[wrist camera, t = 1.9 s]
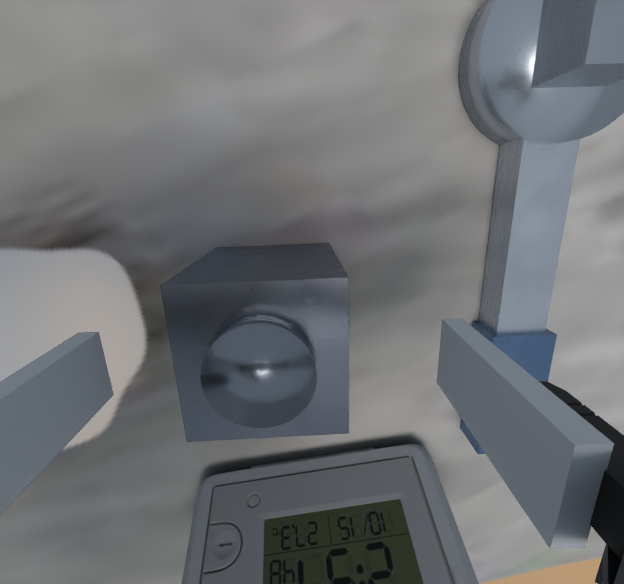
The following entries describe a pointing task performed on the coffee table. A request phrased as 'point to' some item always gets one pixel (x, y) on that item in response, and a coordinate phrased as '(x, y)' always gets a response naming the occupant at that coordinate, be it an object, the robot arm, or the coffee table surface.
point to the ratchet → (535, 148)
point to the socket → (261, 342)
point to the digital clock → (328, 523)
